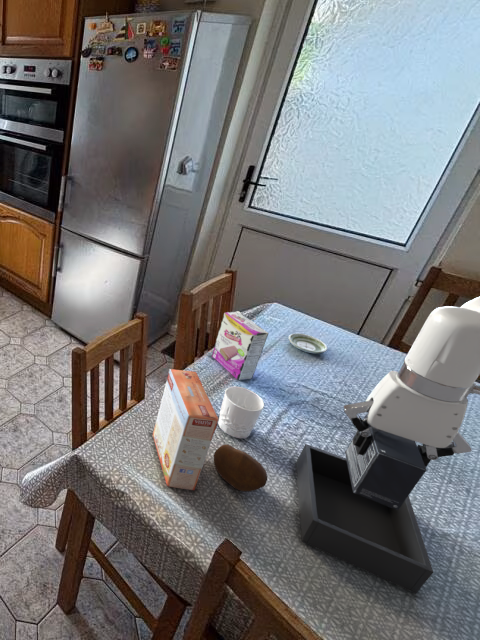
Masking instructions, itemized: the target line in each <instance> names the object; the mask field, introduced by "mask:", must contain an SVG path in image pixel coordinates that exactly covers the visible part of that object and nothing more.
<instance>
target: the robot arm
mask: <svg viewBox="0 0 480 640" xmlns="http://www.w3.org/2000/svg"><path fill="white" fill-rule="evenodd" d="M479 376H480V296H478V297H475V298H473V299H470V300H469V301H467V302H465V303H464V304H462V305H461V306H452V305H451V306H449V305H446V306H440V307H436V308H435V309H434V310H432V311H431V312H430V314H429V315H428V317H427V318H426V320H425V322H424V323H423V325H422V327H421V329H420V330H419V332H418V335H417V336H416V338H415V340H414V341H413V343H412V345H411V348H409V351H408V352H407V354H406V356H405V358H404V360H403V361H402V363H401V365H400V367H399V369H398V371H397V370H390V371H388V373H387V374H385V376H384V377H382V378H381V380H380V381H379V382H378V383H377V384H376V385H375V387H374V388H373V389H372V390H371V392H370V393H369V395H368V396H367V398H366V399H365V401H361V402H360V401H359V402H354V403H349V404H345V405H343V407H342V408H343V411H344V413H345V415H346V416H347V418H348V419H349V420H350V421H351V423H352V425H353V426H354V427H355V429H356V430H357V431H356V433H355V435H354V436H353V438H352V440H353V445H355V446H356V449H357V453H358V454H360V455H363V454H364V453H365V451H366V449H367V448H368V446H369V444H370V442H371V437H370V436H371V435H373V434H375V433H377V432H379V431H381V430H383V431H385V432H389V433H392V434H395V435H398V436H401V437H404V438H407V439H410V440H413V441H415V442H416V443H419V444H418V445H417V447H418V450H419V452H420V455H421V457H422V460H423V462H424V465H425V467H426V468H427V467H428V465H429V464H430V463H431V462H432V461H437V460H438V459H439V458H443V457H451V456H454V455H455V454H466V453H471V452H472V450H473V449H472V447H471V445H470V444H469V443H468V441H467V440H466V439H465V438H464V436H463V435H462V434H461V433H460V432H459V431H460V429H461V426H462V424H463V422H464V419H465V417H466V416H465V415H466V413H467V409H468V403H469V399H468V396H469V395H471V394H472V395H474V394H475V395H479V396H480V385H477V383H475V382H476V381H477V379H478V378H479ZM364 413H367V414H368V417H367V418H365V417H364V418H365V419H364V418H363V419H362V418H361V416H360V415H359V414H364Z"/></svg>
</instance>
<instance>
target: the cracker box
mask: <svg viewBox="0 0 480 640" xmlns="http://www.w3.org/2000/svg"><path fill="white" fill-rule="evenodd" d="M218 421H219V417H218V414H217V413H216V410H215V409H214V406H213V404H212V402H211V400H210V398H209V396H208V394H207V391H206V389H205V388H204V386H203V383H202V381H201V379H200V376H199V375H198V373H197V371H192V370H184V369H183V370H181V369H174V368H173V369H172V368H169V371H168V374H167V378H166V382H165V386H164V390H163V393H162V398H161V401H160V405H159V409H158V413H157V417H156V420H155V425H154V428H153V432H152V438H153V441H154V445H155V448H156V451H157V456H158V459H159V462H160V466H161V469H162V473H163V477H164V480H165V484H166V486H167V487H169V488H175V489H176V488H177V489H182V490H190V491H195V490H196V487H197V484H198V481H199V479H200V475H201V472H202V470H203V466H204V464H205V461H206V458H207V455H208V452H209V450H210V446H211V444H212V441H213V438H214V435H215V433H216V429H217V427H218V425H219V424H218Z"/></svg>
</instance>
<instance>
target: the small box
mask: <svg viewBox="0 0 480 640" xmlns="http://www.w3.org/2000/svg"><path fill="white" fill-rule="evenodd" d="M367 417H368V413H366V414H365V415H364V418H363V419H365V418H367ZM370 437H371V442H370V444H369V446H368V448H367V449H366V451H365V453H364V454H363V455H360V454H358V453H357V449H356V446H355V445H353V439H352V440H351V441H350V444H349V445H348V446H347V448H346V450H345V451H344V454H345V458H346V460H347V465H348V469H349V475H350V479H351V485H352V489H353V492H354V493H355V494H358V495H360V496H363V497H366V498H368V499H371V500H373V501H376V502H378V503H381V504H383V505H385V506H388V507H391V508H393V509H396V510H399V508H400V507H401V505H402V504H403V503H404V501H405V500H406V498H407V497H408V496H410V494H411V493H412V491H413V490H414V489H415V487H416V486H417V484H419V482H420V481H421V479H422V478H423V476H424V475H425V474H426V472H427V471H428V469H427V467H425V465H424V462H423V460H422V457H421V455H420V452H419V450H418V447H417V446H418V445H417V442H416V441H413V440H410V439H407V438H404V437H401V436H398V435H395V434H392V433H389V432H385V431H383V430H381V431H379V432H377V433H375V434H373V435H371V436H370Z"/></svg>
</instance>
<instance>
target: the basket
mask: <svg viewBox="0 0 480 640" xmlns="http://www.w3.org/2000/svg"><path fill="white" fill-rule="evenodd" d="M295 470H296V471H295V472H296V473H295V474H296V485H297V486H296V487H297V502H298V512H299V526H300V527H299V528H300V540H301V542H303V543H304V544H307V545H309V546H311V547H313V548H316V549H317V550H320V551H322V552H323V553H326V554H328V555H331V556H334V557H335V558H337V559H339V560H341V561H344V562H346V563H348V564H350V565H353V566H355V567H356V568H359V569H361V570H363V571H365V572H367V573H369V574H372V575H374V576H377V577H379V578H380V579H383V580H384V581H387V582H389V583H392V584H394V585H396V586H398V587H400V588H402V589H405V590H407V591H409V592H411V593H413V594H415V595H416V594H417V593H418V592H419V591H420V589H421V588H422V587H423V586H424V585H425V583H426V582H427V581H428V580H429V579H430V577H431V576H432V575H433V574H434V570H433V567H432V564H431V561H430V558H429V554H428V551H427V549H426V545H425V542H424V538H423V536H422V533H421V529H420V527H419V523H418V520H417V517H416V514H415V511H414V508H413V505H412V502H411V498H410V495H408V497H407V498H406V500H405V501H404V503H403V504H402V505H401V507H400V508H399V510H396V509H393V508H391V507H388V506H385V505H383V504H381V503H378V502H376V501H373V500H371V499H368V498H366V497H363V496H360V495H358V494H355V493H354V492H353V489H352V485H351V479H350V475H349V469H348V465H347V460H346V457H343V456H341V455H338V454H335V453H333V452H329V451H327V450H325V449H321V448H319V447H315V446H312V445H310V444H307V443H305V444H304V445H303V448H302V450H301V452H300V454H299V456H298V457H297V460H296V463H295Z"/></svg>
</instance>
